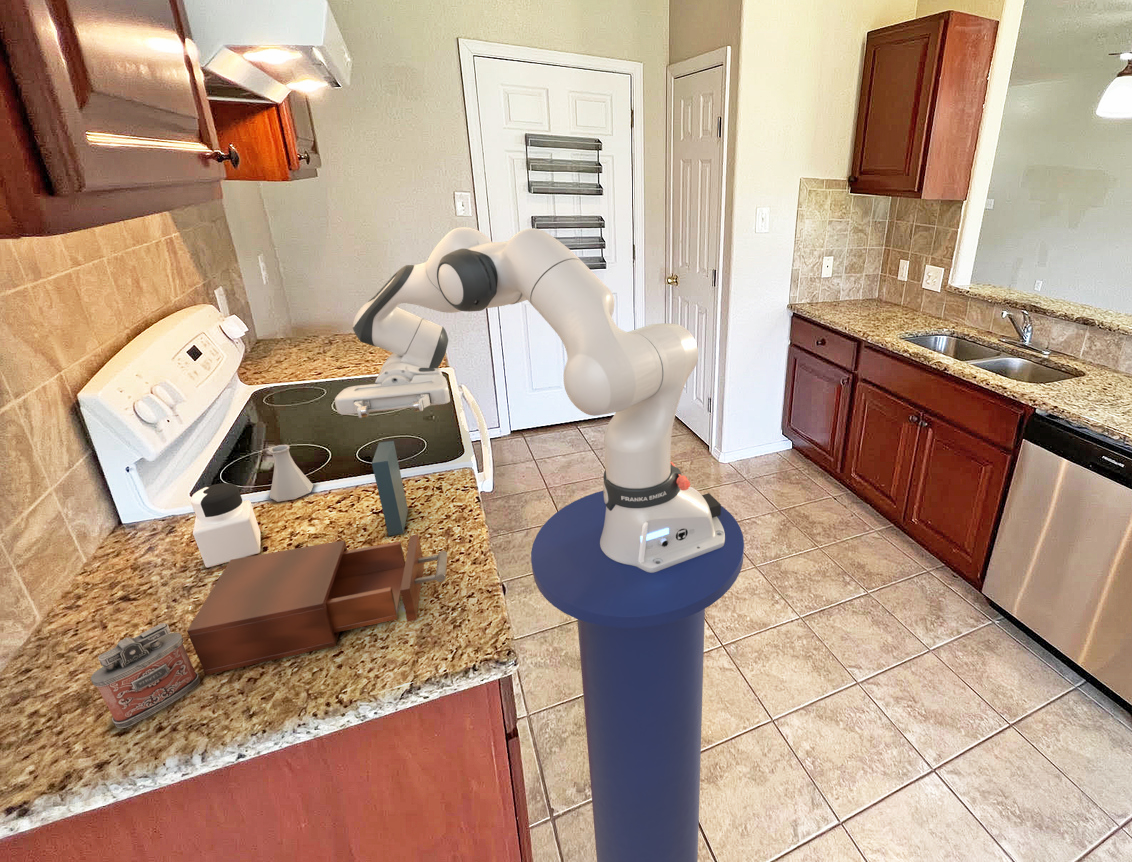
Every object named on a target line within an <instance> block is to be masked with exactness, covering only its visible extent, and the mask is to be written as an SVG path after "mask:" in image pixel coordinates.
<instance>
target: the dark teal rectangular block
mask: <svg viewBox="0 0 1132 862" xmlns="http://www.w3.org/2000/svg"><path fill="white" fill-rule="evenodd" d="M399 464H400V463H399V459H398V456H397V450H396V445H395V441H394V440H388V441H379V442H378V444H377V446H376V450H375V452H374V456H373V457H372V461H371V466H372V471H373V475H374V481H375V483H376V487H377V492H378V497H379V501H380V506H381V509H382V514H383V519H384V522H385V526H386V532H387V536H388V537H390V536H391V537H392V536H397V535H403V534H404V533H405V529H406V523H407V518H408V512H409V507H408V502H407V497H406V491H405V489H404V482H403V479H402V474H401V468H400V466H399Z"/></svg>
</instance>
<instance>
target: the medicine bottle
mask: <svg viewBox="0 0 1132 862" xmlns="http://www.w3.org/2000/svg"><path fill="white" fill-rule="evenodd" d="M190 503H191V506H192V509H193V512H194V514H195V518H194V519H195V520H194V524H193V528H192V529H193V530H192V535H193V537H194V540H195V543H196V545H197V548H198V550H199V553H200V555H201V558H202V561H203V564H204V565H205V566H204V567H206V568H212V567H216V566H219V565H222V564H226V563H227V564H228V563H229V562H230V560H232V559H238V558H244V557H250V556H256V555H259V554H260V553H261V529H260V526H259V523H258V520H257V517H256V514H255V511H254V508H253V504H252V502H251V500H250V499H246V500H243V497H242V495H241V492H240V488H239V486H238V485H236V484H234V483H230V482H224V483H223V482H222V483H216V484H212V485H207V486H205V487H202V488H200V489H199V490H197V491H196V492H194V493H193V494H192V496H191V497H190Z"/></svg>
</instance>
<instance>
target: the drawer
mask: <svg viewBox="0 0 1132 862" xmlns="http://www.w3.org/2000/svg"><path fill="white" fill-rule="evenodd" d="M420 541H421V540H420V536H419V534H413V535H410V536H409V540H408V546H407V550H406V557H405V554H404V550H403V545H402V541H401V540H400V541H393V542H388V543H383V544H377V545H371V546H365V547H359V548H353V549H347V550H348V551H344V552H343V555H342V557H341V560H340V563H339V566H338V569H337V572H336V575H335V578H334V581H333V584H332V587H331V590H330V593H329V595H328V598H327V601H326V607H327V610H328V614H329V617H330V620H331V624H332V627H333V630H334V633H336V632H339V633H340V632H344V631H349V630H354V629H358V628H363V627H368V626H372V625H376V624H380V623H385V622H390V621H395V620H398V617H399V613H400V607H401V600H402V605H403V608H404V613H405V617H406V622H407V623H409V622H413V621H417V620H418V618H417V617H418V611H419V604H420V598H421V597H420V596H421V589H422V583H428V582H434V581H435V582H437V583H438V582H439V583H442V582H445V581H446V578H447V566H448V556H449V555H448V552H447V551H446V550H441V551H439V552H438V554H434V555H429V556H424V555H423V550H422V546H421V542H420ZM433 561H436V570H435V574H431V575H427V576H424V575H423V574H424V569H425V567H424V566H425V563H428V562H433Z"/></svg>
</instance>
